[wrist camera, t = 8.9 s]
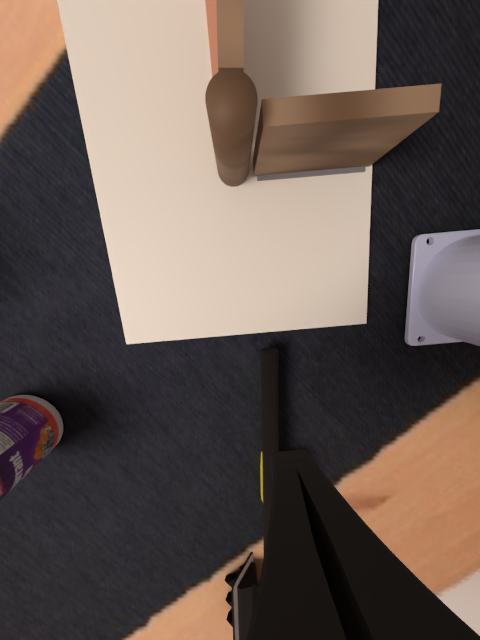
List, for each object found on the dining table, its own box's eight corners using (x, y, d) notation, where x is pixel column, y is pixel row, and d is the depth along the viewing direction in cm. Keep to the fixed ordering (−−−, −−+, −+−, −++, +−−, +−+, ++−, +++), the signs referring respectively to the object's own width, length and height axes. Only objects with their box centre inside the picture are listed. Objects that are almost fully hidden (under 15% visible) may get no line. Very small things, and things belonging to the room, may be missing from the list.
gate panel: (240, 141, 14) (243, 67, 9) (224, 140, 14) (218, 67, 9) (239, -33, 12) (241, -244, 7) (220, -33, 12) (210, -246, 7)
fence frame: (370, 139, 14) (464, 47, 8) (368, 175, 15) (457, 110, 9) (215, 153, 14) (202, 70, 8) (219, 187, 15) (208, 132, 9)
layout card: (379, -115, 12) (383, -128, 12) (364, 322, 17) (367, 323, 17) (42, -86, 12) (36, -99, 12) (128, 343, 17) (125, 344, 17)
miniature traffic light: (242, 333, 22) (249, 584, 26) (201, 346, 18) (217, 645, 22) (312, 342, 18) (306, 636, 22) (280, 361, 14) (281, 724, 18)
